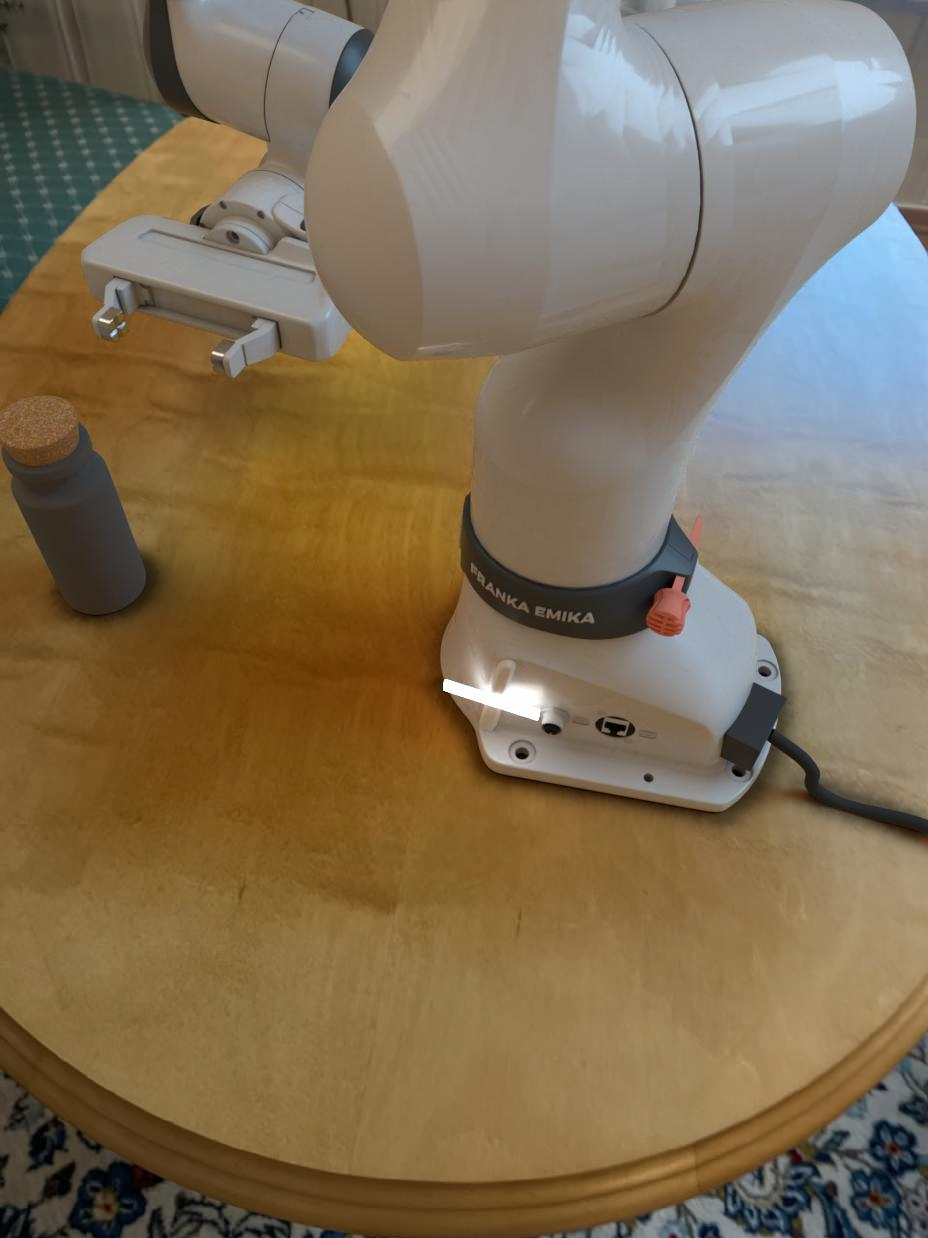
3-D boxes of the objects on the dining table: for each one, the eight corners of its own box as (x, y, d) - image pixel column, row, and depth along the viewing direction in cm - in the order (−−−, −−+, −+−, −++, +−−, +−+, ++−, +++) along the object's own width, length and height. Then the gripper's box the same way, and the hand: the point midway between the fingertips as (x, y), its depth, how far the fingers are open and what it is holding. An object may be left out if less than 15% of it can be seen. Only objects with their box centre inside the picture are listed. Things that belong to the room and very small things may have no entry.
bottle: (127, 622, 67) (59, 461, 55) (47, 608, 67) (-37, 445, 55) (160, 559, 70) (103, 395, 58) (84, 546, 71) (12, 381, 59)
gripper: (134, 175, 74) (18, 272, 66) (378, 237, 70) (285, 348, 62) (153, 251, 79) (48, 349, 71) (382, 312, 75) (296, 424, 67)
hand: (160, 349), depth 66 cm, fingers open, 8 cm apart
